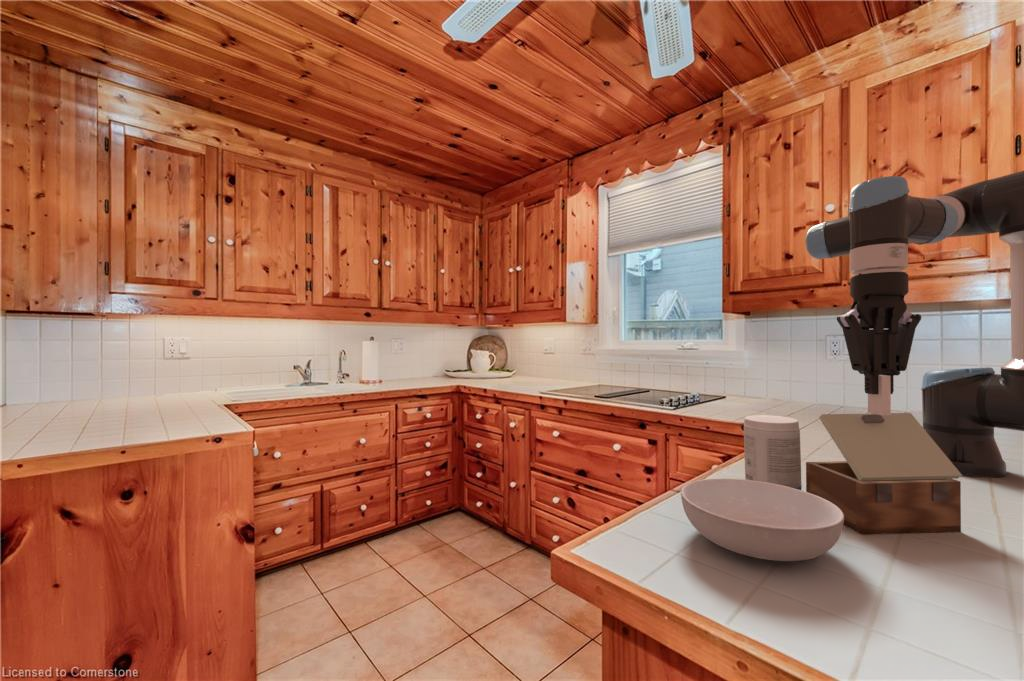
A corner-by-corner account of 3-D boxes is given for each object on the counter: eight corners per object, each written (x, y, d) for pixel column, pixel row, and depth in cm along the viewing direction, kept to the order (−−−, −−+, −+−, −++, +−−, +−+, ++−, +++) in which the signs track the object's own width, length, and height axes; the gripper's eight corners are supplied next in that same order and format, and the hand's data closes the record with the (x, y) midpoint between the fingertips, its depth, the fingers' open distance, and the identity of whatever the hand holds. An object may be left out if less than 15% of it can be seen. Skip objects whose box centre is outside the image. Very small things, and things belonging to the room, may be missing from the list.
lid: (906, 416, 77) (913, 410, 75) (957, 478, 68) (966, 472, 67) (818, 417, 76) (824, 411, 75) (859, 480, 68) (866, 475, 66)
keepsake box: (890, 503, 80) (890, 460, 80) (962, 532, 68) (962, 481, 68) (806, 505, 79) (806, 462, 79) (863, 535, 67) (862, 484, 67)
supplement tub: (807, 493, 86) (806, 418, 86) (794, 506, 79) (793, 425, 79) (753, 481, 93) (752, 412, 93) (737, 492, 86) (736, 418, 86)
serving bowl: (874, 557, 61) (873, 507, 61) (790, 602, 50) (790, 543, 50) (734, 507, 79) (733, 469, 79) (651, 533, 68) (651, 490, 68)
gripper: (859, 269, 69) (860, 418, 69) (938, 269, 70) (939, 417, 70) (823, 276, 77) (824, 410, 77) (894, 276, 77) (895, 409, 77)
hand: (879, 413), depth 73 cm, fingers closed
